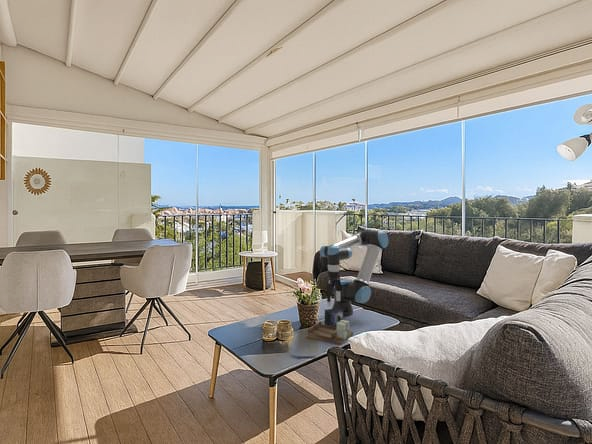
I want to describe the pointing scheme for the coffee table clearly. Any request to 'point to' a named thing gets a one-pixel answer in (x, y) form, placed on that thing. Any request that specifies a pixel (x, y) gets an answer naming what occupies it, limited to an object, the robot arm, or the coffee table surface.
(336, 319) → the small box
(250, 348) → the coffee table surface
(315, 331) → the cradle
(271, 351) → the coffee table surface
